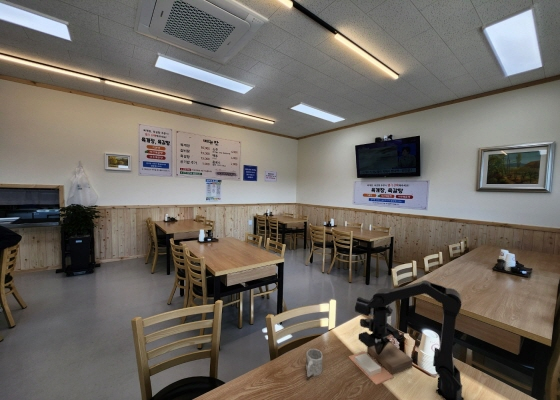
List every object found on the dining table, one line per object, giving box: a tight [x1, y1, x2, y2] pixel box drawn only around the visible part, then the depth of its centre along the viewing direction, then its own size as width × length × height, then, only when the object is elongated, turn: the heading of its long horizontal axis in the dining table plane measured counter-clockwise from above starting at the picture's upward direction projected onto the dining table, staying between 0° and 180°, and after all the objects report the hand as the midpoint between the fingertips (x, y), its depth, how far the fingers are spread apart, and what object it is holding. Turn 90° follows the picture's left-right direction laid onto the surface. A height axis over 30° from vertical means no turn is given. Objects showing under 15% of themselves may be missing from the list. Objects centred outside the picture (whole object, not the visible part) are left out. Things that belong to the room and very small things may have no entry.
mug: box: [305, 348, 323, 378], centre depth 95 cm, size 10×7×7 cm, turn 149°
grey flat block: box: [355, 352, 381, 376], centre depth 98 cm, size 9×6×2 cm, turn 23°
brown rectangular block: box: [366, 341, 413, 376], centre depth 103 cm, size 14×12×4 cm
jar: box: [387, 313, 392, 326], centre depth 126 cm, size 9×8×12 cm
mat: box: [348, 350, 394, 386], centre depth 98 cm, size 16×10×1 cm, turn 24°
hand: (378, 353), depth 100 cm, fingers closed
